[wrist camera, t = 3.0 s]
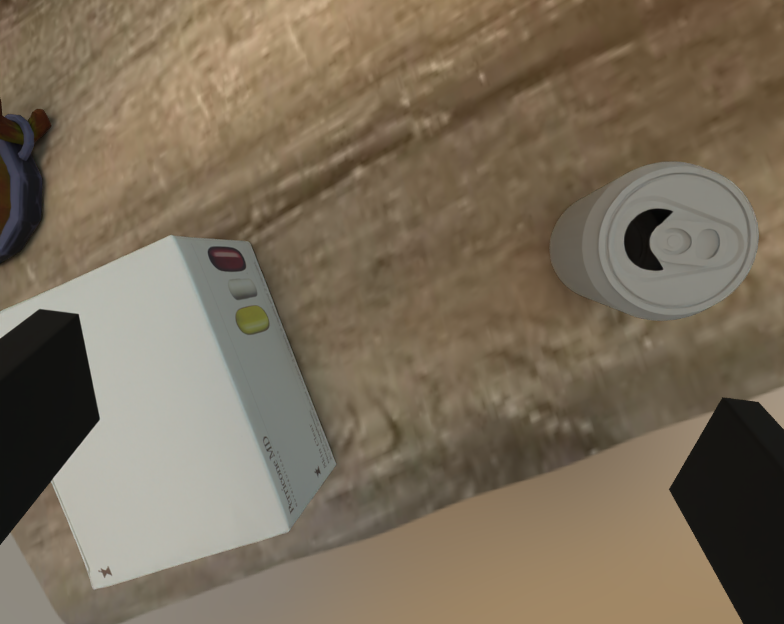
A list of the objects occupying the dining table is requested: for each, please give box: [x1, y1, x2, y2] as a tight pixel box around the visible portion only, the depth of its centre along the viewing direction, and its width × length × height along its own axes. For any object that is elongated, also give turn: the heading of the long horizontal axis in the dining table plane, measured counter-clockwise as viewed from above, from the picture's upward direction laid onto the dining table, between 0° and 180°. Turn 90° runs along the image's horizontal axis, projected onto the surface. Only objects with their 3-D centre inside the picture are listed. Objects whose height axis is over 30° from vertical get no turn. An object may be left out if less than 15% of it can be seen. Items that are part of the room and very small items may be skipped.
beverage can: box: [550, 162, 759, 321], centre depth 25 cm, size 6×6×12 cm
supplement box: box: [0, 235, 336, 590], centre depth 32 cm, size 17×13×9 cm
